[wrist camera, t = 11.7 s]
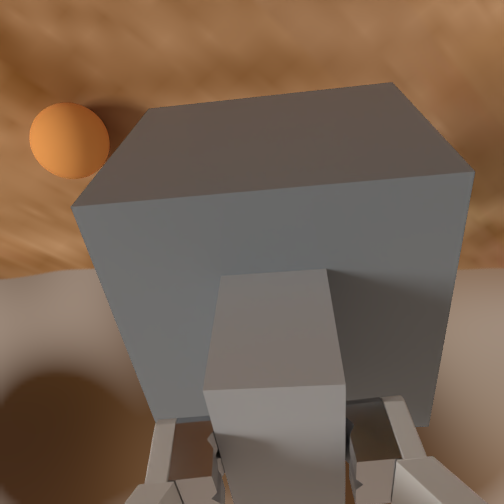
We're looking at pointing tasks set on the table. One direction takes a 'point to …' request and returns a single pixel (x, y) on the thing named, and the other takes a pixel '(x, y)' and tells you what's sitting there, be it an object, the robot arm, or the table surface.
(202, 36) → the table surface
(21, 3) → the table surface
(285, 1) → the table surface
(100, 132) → the ball
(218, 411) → the stepped grey block
